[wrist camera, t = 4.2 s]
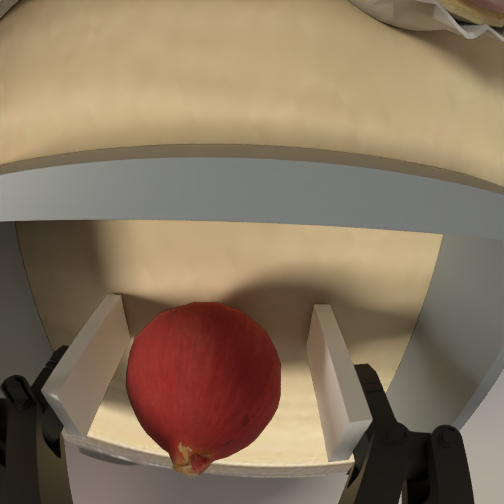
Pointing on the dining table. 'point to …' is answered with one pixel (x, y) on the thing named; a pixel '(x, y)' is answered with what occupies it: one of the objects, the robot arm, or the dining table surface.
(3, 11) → the coffee box
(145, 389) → the onion
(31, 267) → the dining table surface
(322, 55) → the dining table surface
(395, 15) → the cupcake
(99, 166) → the open u-shaped frame
